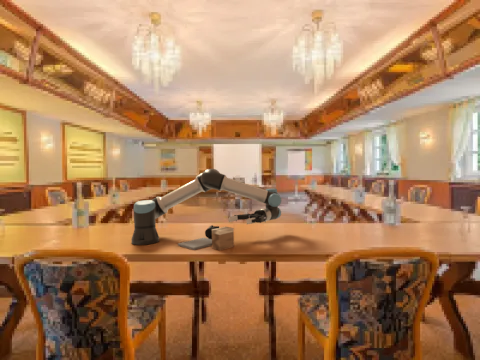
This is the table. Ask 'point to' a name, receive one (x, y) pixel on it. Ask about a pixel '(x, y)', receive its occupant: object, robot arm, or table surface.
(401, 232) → the table surface
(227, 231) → the walnut box
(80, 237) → the table surface
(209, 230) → the end cap
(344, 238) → the table surface
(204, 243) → the gray board
